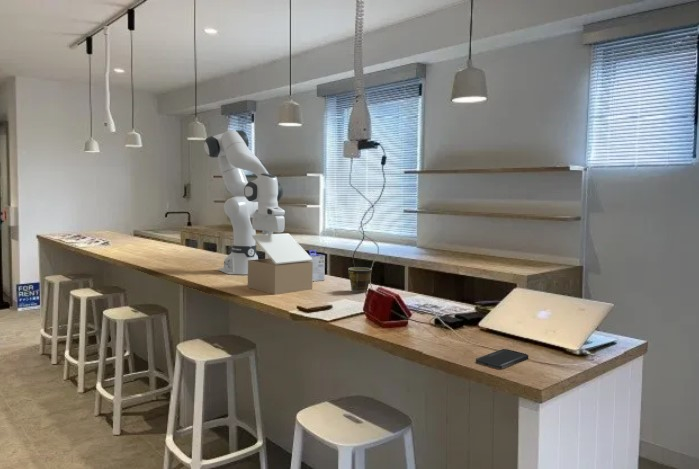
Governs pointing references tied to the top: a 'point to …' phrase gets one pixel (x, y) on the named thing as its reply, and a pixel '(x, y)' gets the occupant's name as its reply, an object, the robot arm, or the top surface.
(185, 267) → the top surface
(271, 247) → the lid flap
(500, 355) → the phone
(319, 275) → the ink cartridge box
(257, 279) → the carton
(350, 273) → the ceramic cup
